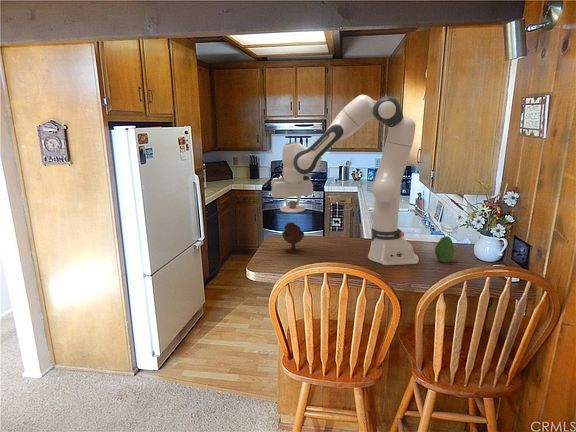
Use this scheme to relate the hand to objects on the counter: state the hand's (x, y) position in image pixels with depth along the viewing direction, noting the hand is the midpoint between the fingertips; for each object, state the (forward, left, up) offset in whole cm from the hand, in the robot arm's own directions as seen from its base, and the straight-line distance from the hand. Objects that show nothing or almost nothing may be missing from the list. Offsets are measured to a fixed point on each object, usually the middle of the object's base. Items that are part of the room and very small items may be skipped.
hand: (292, 205), depth 177 cm
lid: (0, 0, -2) cm, 2 cm away
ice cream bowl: (0, 0, -24) cm, 24 cm away
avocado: (-69, +9, -24) cm, 73 cm away
